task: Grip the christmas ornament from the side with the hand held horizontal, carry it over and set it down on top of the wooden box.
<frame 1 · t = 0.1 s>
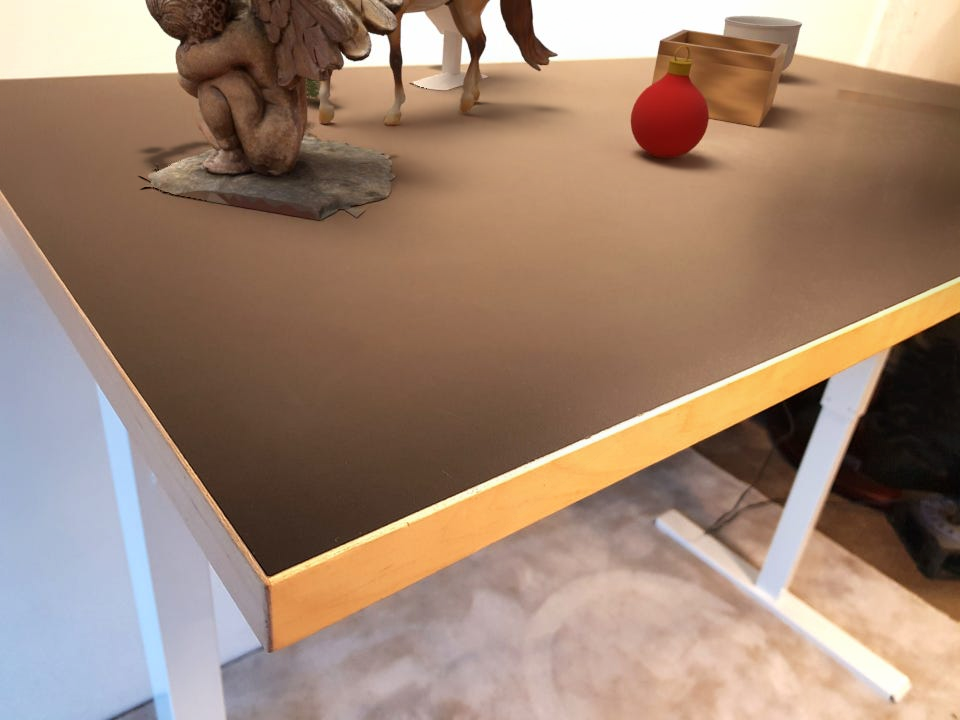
horse figurine: (442, 123, 80), on the table
teacup: (752, 75, 121), on the table
christmas ornament: (661, 158, 76), on the table
sea urchin: (301, 102, 83), on the table
cherub figurine: (288, 174, 62), on the table
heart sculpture: (450, 81, 98), on the table
wooden box: (711, 107, 97), on the table
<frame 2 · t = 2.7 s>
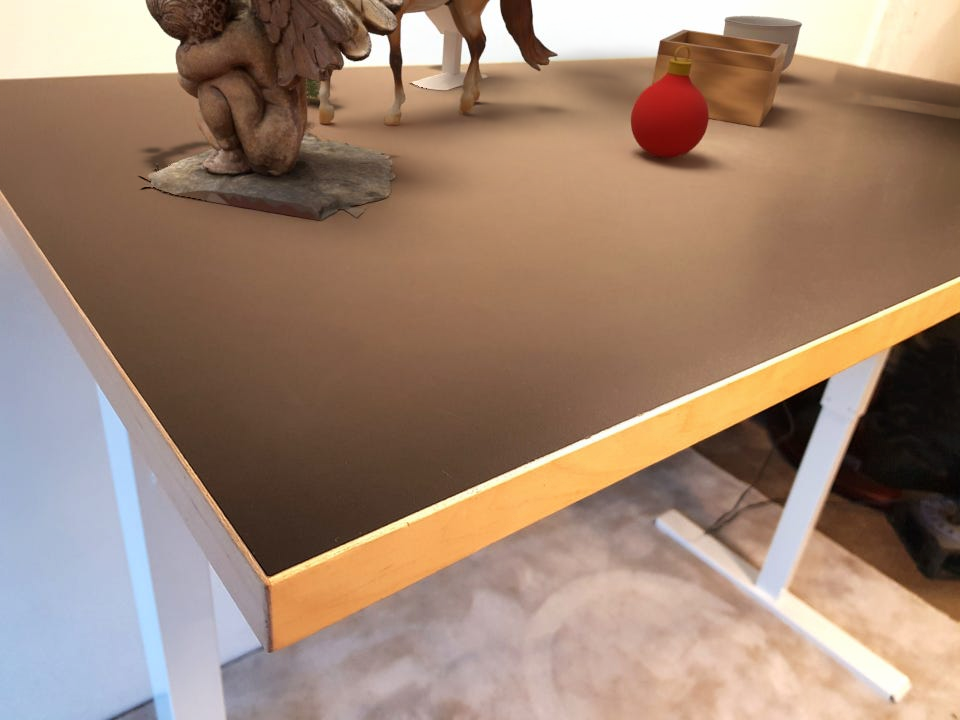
nothing on the table moved.
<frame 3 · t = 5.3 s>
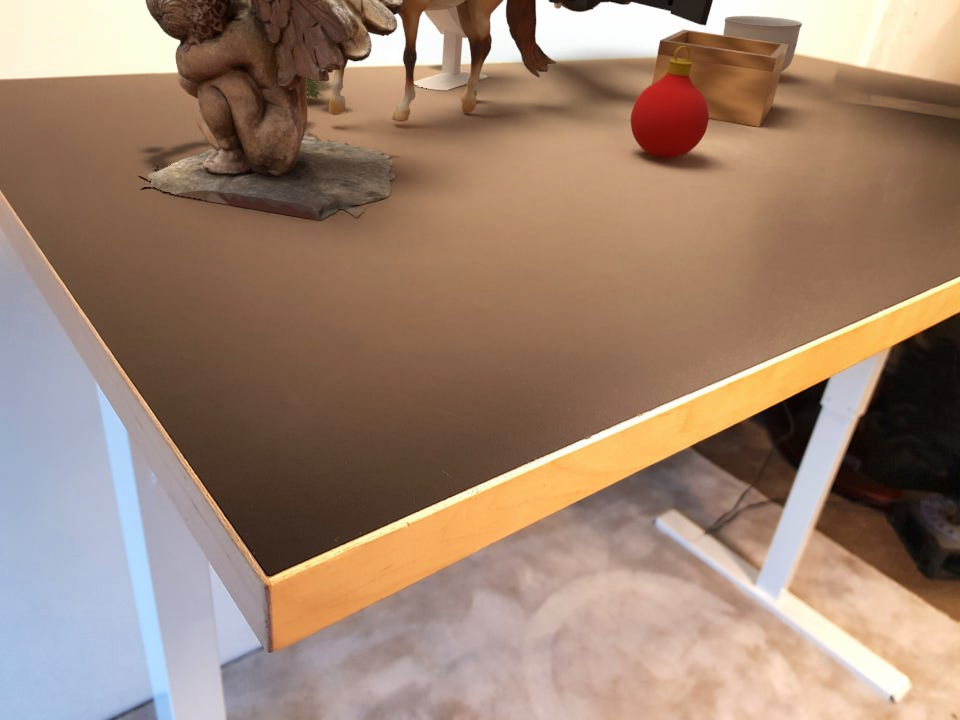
hand: (651, 2, 78), 12 cm above the table, tool horizontal, fingers open, 12 cm apart
horse figurine: (447, 122, 80), on the table, touching hand
everything else where it was.
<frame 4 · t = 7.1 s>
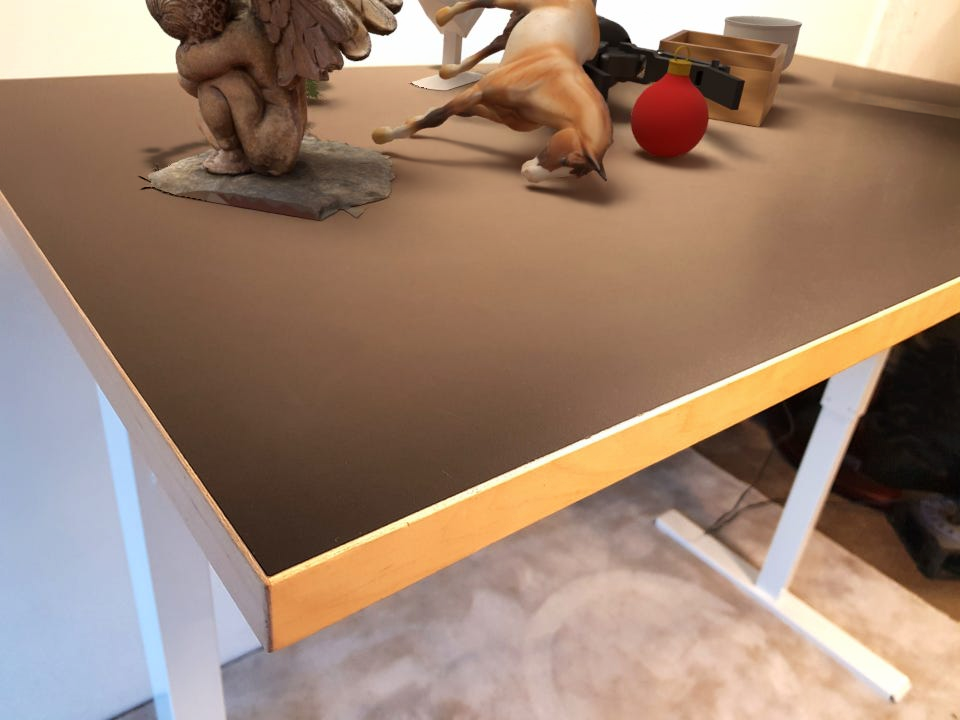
hand: (673, 93, 73), 6 cm above the table, tool horizontal, fingers open, 13 cm apart
horse figurine: (429, 108, 78), point 1 cm above the table, touching hand
everything else where it was.
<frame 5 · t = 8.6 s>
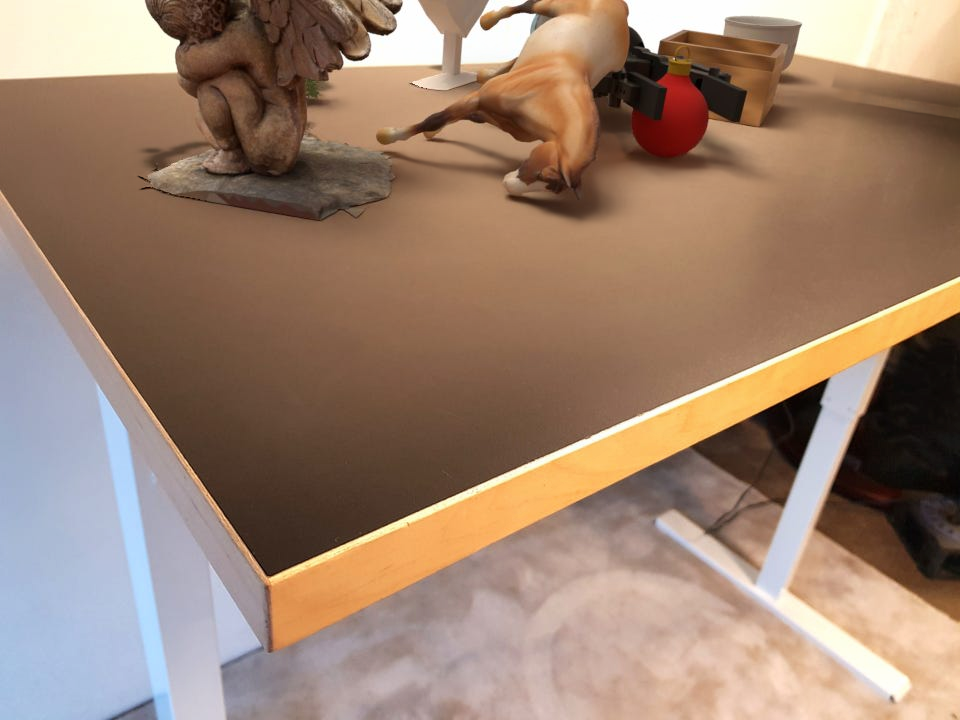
hand: (700, 105, 69), 6 cm above the table, tool horizontal, fingers closed on christmas ornament, 7 cm apart
horse figurine: (459, 112, 78), point 2 cm above the table, touching hand
christmas ornament: (661, 158, 76), on the table, touching gripper
everything else where it was.
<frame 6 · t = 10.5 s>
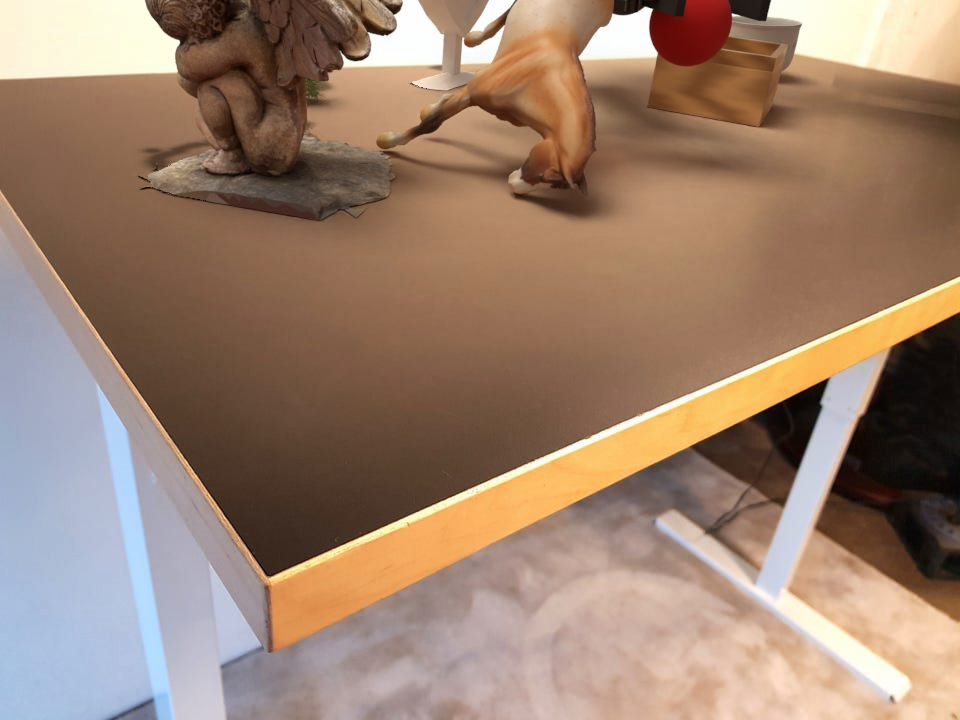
hand: (724, 0, 64), 14 cm above the table, tool horizontal, fingers closed on christmas ornament, 7 cm apart
horse figurine: (453, 84, 76), point 4 cm above the table, touching hand
christmas ornament: (681, 68, 72), point 8 cm above the table, touching gripper
everything else where it was.
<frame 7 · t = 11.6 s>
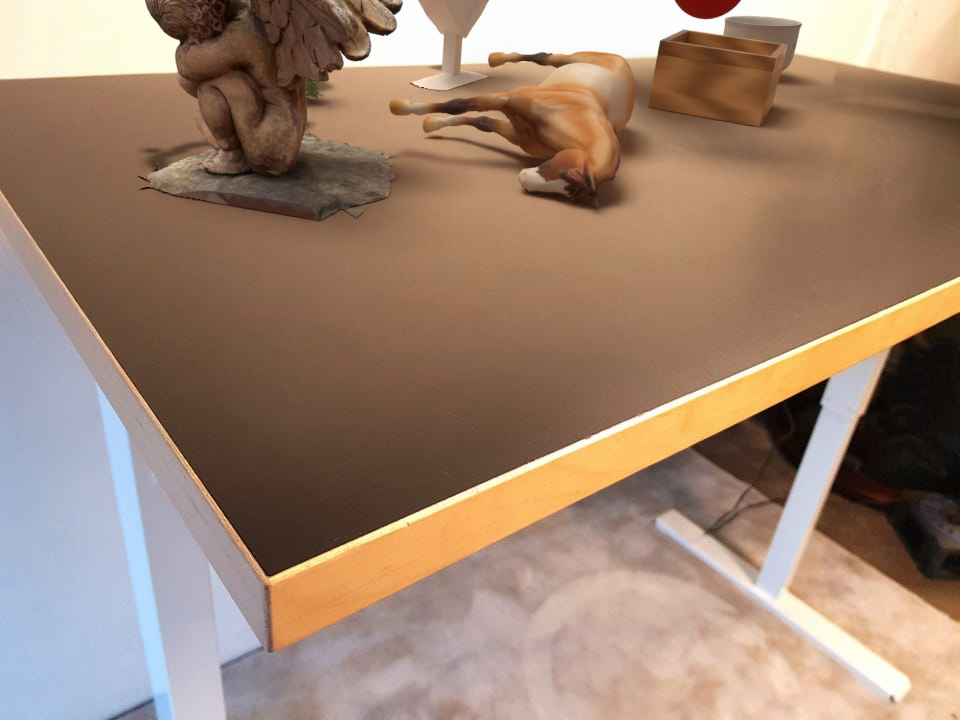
horse figurine: (452, 125, 79), on the table
christmas ornament: (700, 21, 74), point 12 cm above the table, touching gripper
everything else where it was.
when the fingers open (12 cm above the table, at t = 16.5 s): christmas ornament stays where it is, resting on wooden box.
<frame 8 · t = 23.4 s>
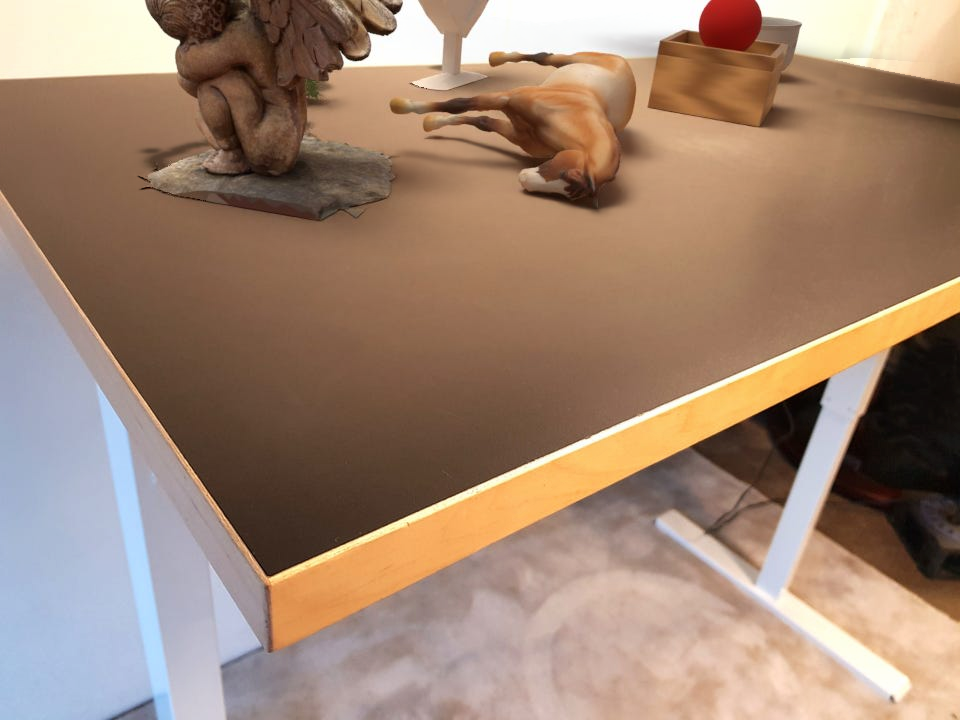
christmas ornament: (722, 57, 94), point 6 cm above the table, touching wooden box
everything else where it was.
at the end: christmas ornament inside the target area on the wooden box (0.1 cm from its centre), point 5.8 cm above the wooden box's base; the gripper is holding nothing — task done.
